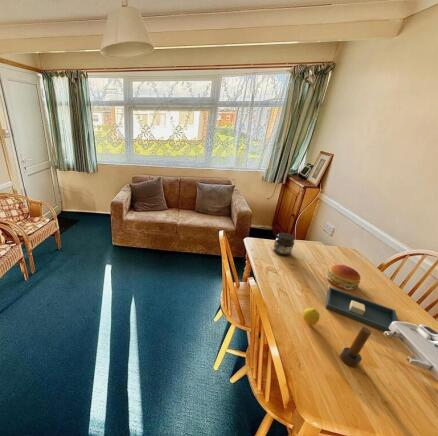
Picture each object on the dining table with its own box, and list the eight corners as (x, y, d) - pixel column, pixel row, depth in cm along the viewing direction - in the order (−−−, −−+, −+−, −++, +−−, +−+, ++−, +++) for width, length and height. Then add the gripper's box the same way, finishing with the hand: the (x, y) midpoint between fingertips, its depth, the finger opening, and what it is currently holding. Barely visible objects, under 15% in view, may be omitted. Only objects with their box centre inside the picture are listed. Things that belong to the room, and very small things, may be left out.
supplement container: (276, 246, 154) (280, 230, 149) (293, 252, 147) (298, 236, 142) (269, 251, 148) (273, 235, 143) (286, 258, 141) (292, 242, 136)
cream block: (362, 309, 104) (364, 304, 103) (362, 315, 101) (365, 310, 100) (349, 304, 107) (351, 300, 105) (349, 310, 103) (351, 305, 102)
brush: (356, 357, 84) (374, 327, 78) (359, 370, 80) (378, 339, 74) (338, 351, 87) (354, 321, 80) (341, 362, 83) (358, 332, 76)
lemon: (300, 315, 102) (305, 302, 98) (315, 321, 99) (321, 307, 96) (300, 324, 98) (306, 311, 94) (316, 330, 95) (322, 316, 92)
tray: (392, 315, 102) (395, 310, 101) (396, 338, 92) (400, 332, 90) (327, 291, 115) (329, 286, 114) (325, 309, 105) (327, 304, 104)
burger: (329, 288, 117) (336, 273, 113) (320, 272, 129) (326, 258, 124) (361, 294, 113) (369, 279, 109) (349, 277, 125) (356, 262, 120)
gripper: (473, 392, 67) (419, 384, 69) (412, 332, 86) (371, 327, 88) (487, 379, 65) (430, 372, 67) (420, 320, 83) (378, 316, 85)
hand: (396, 346), depth 77 cm, fingers open, 8 cm apart
